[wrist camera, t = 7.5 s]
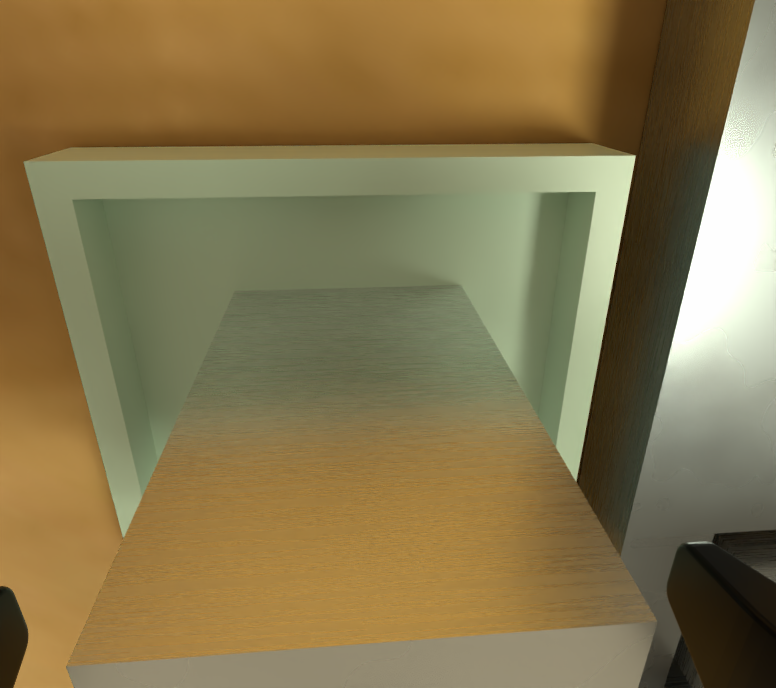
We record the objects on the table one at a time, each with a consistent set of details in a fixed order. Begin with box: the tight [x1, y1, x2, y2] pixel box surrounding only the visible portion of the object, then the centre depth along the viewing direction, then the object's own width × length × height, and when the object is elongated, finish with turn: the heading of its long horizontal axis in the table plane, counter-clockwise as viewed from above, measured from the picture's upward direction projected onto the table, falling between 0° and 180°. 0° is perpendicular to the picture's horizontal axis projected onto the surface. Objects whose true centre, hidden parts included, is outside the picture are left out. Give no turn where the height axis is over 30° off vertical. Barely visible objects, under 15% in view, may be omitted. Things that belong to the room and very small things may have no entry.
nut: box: [66, 285, 658, 688], centre depth 9 cm, size 5×5×8 cm
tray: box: [24, 143, 636, 539], centre depth 12 cm, size 10×10×2 cm
